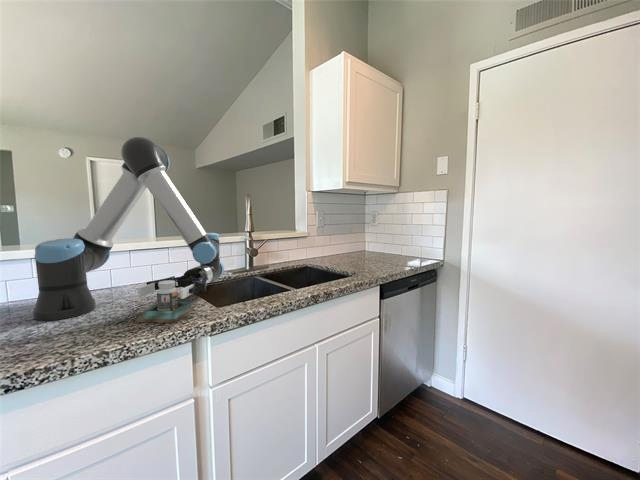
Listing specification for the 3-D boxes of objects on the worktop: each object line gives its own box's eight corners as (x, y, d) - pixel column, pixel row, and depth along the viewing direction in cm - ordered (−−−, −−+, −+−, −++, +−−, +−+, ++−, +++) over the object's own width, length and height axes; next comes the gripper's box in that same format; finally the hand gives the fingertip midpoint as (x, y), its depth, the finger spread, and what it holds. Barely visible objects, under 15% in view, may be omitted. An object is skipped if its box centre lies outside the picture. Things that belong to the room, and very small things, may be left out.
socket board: (135, 322, 85) (135, 312, 85) (155, 310, 95) (155, 301, 95) (175, 322, 85) (175, 312, 84) (191, 310, 95) (191, 301, 94)
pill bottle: (177, 314, 88) (176, 283, 87) (156, 317, 86) (154, 284, 85) (178, 308, 93) (177, 279, 92) (158, 310, 91) (157, 280, 90)
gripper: (230, 288, 106) (200, 307, 85) (167, 285, 108) (122, 304, 87) (229, 268, 105) (199, 282, 84) (165, 266, 108) (121, 280, 87)
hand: (160, 293), depth 86 cm, fingers open, 13 cm apart
